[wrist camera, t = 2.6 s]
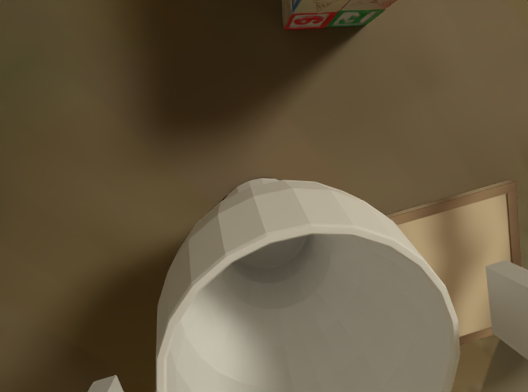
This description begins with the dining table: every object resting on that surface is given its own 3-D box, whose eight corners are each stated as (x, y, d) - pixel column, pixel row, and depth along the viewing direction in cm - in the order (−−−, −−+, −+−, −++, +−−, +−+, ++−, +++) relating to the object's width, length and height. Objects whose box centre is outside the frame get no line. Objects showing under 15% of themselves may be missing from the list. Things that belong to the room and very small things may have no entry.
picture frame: (379, 363, 27) (383, 369, 27) (351, 225, 24) (355, 227, 24) (518, 320, 28) (525, 324, 27) (508, 180, 25) (515, 181, 24)
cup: (307, 140, 23) (446, 149, 8) (343, 261, 25) (500, 440, 10) (175, 186, 22) (65, 284, 8) (224, 304, 25) (211, 552, 10)
